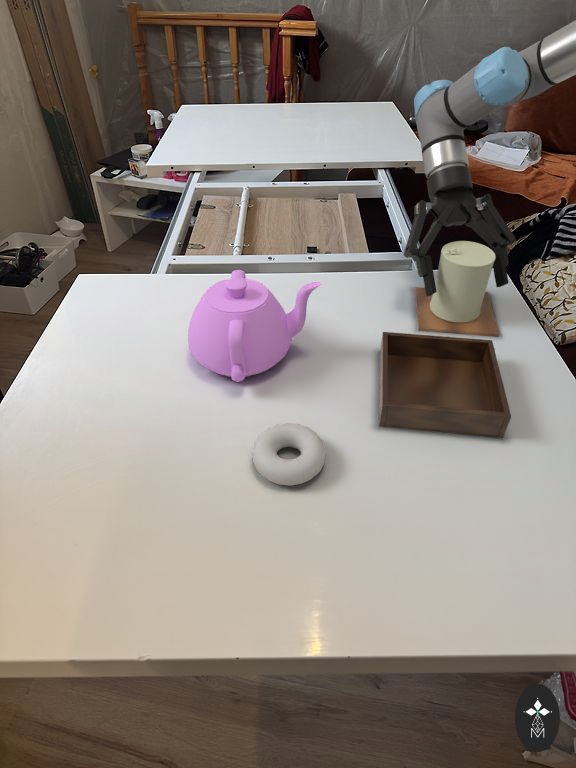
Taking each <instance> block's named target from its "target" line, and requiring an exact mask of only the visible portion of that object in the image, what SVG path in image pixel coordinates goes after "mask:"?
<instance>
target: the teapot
mask: <svg viewBox="0 0 576 768" xmlns="http://www.w3.org/2000/svg"><path fill="white" fill-rule="evenodd" d="M246 277H247V276H246V272H245V271H244V270H242V269H234V270H233V271H231V274H230V278H227V279H226V278H225V279H223V280H220V281H218V282H215V283H213V284H212V285H210V286H208V288H207V289H206V290H205V292H204V293H203V295H201V297H200V299H199V301H198V302H197V304H196V306H195V308H194V310H193V312H192V314H191V317H190V320H189V324H188V330H187V344H188V349H189V352H190V354H191V356H192V357H193V358H194V360H195V361H196V362H197V363H198V364H200V365H201V366H202V367H204V368H206V369H207V370H209V371H210V372H214V373H216V374H218V375H221V376H225V377H230V378H231V381H234V382H236V383H239V382H242V381H244V380H245V379H246V377H250V376H255V375H259V374H262V373H264V372H266V371H268V370H269V369H271V368H273V367H274V366H276V365H277V364H278V363H279V362H280V361H282V359H284V358H285V356H286V355H287V353H288V351H289V349H290V347H291V344H292V339H293V338H295V337H296V336H297V335H298V334H299V333H301V331H302V329H303V328H304V326H305V323H306V318H307V307H308V301H309V297H310V295H311V294H312V293H313V291H315V290H316V289H318V287H320V286H321V285H322V281H313V282H309V283H307V284H305V285H302V286H301V287H300V288H299V289H298V291H297V293H296V297H295V303H294V307H293V309H292V310H290V311H289V312H288V313H286V311H285V309H284V308H283V306H282V305H281V302H279V300H278V299H277V298H276V296H275V295H274V294H273V293H272V291H271V290H270V289H269V288H268V287H267V286H266V285H264V284H263V283H262V282H260V281H258V280H256V279H255V280H254V279H251V278H246Z"/></svg>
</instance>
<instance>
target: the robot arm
mask: <svg viewBox="0 0 576 768" xmlns="http://www.w3.org/2000/svg"><path fill="white" fill-rule="evenodd" d="M574 76H576V19H575V20H573V21H572V22H570V23H568V24H567V25H565V26H563V27H560V28H559V29H557V30H556V31H554V32H552V33H551V34H549V35H547V36H546V37H544V38H543V39H540V40H539V41H536V42H535V43H533V44H531V45H530V46H528V47H526V48H524V49H523V50H520V51H517V50H516V49H512V48H511V47H510V46H504V47H500V48H499V49H497V50H496V51H494V52H492V53H491V54H490V55H487V56H485V57H484V58H482V60H481V61H480V62H478V63H477V64H476V65H475V66H473V67H472V68H471V69H470V70H469V71H467V72H466V73H465V74H463V75H462V76H461V77H459V78H458V79H457V80H455V81H454V82H453V81H452V80H450V79H449V80H448V79H438V80H433V81H432V82H431V83H429V84H425V85H424V86H422V87H421V88H420V89H419V90H418V91H417V92H416V94H415V96H414V100H413V106H414V116H415V117H414V121H415V124H416V129H417V133H418V138H419V142H420V147H421V155H422V162H423V169H424V175H425V177H426V178H427V179H426V187H427V192H428V198H429V201H430V202H427V201H425V200H424V199H421V200H420V201H418V202H417V203H416V205H414V207H413V215H414V218H413V221H412V225H411V227H410V228H411V229H410V232H409V235H408V238H407V241H406V244H405V249H404V252H403V256H404V257H405V258H408V259H409V258H411V259H412V261H413V262H415V263H416V270H417V275H418V277H419V278H423V284H424V288H425V291H426V296H431V295H433V294H434V293H436V292H437V290H436V284H435V282H436V278H435V274H434V267H433V260H432V255H426V254H427V253H428V251H429V249H430V248H431V246H432V244H433V242H434V241H435V239H436V238H437V235H438V234H439V232H440V231H441V229H442V227H443V226H444V227H445V228H448V227H449V228H450V227H453V226H457V227H459V226H462V225H465V226H466V227H468V228H471V229H472V231H473V232H475V233H476V235H478V236H479V237H480V238H481V239H482V240H483V241H484V242H486V244H488V246H490V247H491V248H492V251H493V252H494V253H495V256H496V258H495V261H494V264H493V267H492V270H493V276H494V280H495V286H496V288H502V287H504V286H505V285H508V284H509V277H508V271H507V266H509V262H510V261H509V255H508V251H507V250H508V249H507V248H508V247H509V246H510V245H512V244H513V243H515V242H516V240H517V239H516V236H515V235H514V233H513V232H512V230H511V229H510V228H509V226H508V225H507V223H506V222H505V220H504V218H503V217H502V216H501V214H500V213H499V211H498V209H497V208H496V207H495V205H494V202H493V199H492V195H491V194H490V193H486V194H485V195H483V196H480V197H475V196H474V194H473V188H474V187H473V181H472V174H471V170H470V168H469V166H470V162H469V155H468V151H467V147H466V141H465V140H466V139H465V134H464V131H465V130H466V129H468V128H470V127H471V126H473V125H474V124H476V123H477V122H479V121H480V120H482V119H483V118H485V117H487V116H488V115H490V114H492V113H494V112H496V111H499V110H500V109H504V108H506V107H508V106H511V105H514V104H516V103H518V102H521V101H523V100H527V99H528V100H530V99H532V98H534V97H537V96H539V95H541V94H543V93H544V92H545V91H547V90H548V89H550V88H552V87H554V86H556V85H557V84H559V83H561V82H564V81H565V80H567V79H570V78H571V77H574ZM475 208H477V210H476V209H475ZM478 211H480V213H479V212H478ZM429 212H430V213H431V214H432V215H433V216H434V218H435V219H434V220H433V222H432V224H431V225H430V228H429V229H428V232H427V233H426V235H425V236H424V238H423V239H422V241H421V243H420V244H419V241H420V238H421V233H422V230H423V227H424V225H425V222H426V221H425V220H426V216H427V214H429ZM482 217H483V218H482ZM418 244H419V246H418ZM417 247H418V248H417Z"/></svg>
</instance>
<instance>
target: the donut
mask: <svg viewBox="0 0 576 768" xmlns="http://www.w3.org/2000/svg"><path fill="white" fill-rule="evenodd" d="M284 448H294V449H296V450H298V451H299V452H300V455H299V456H298V457H296V458H295V457H294V458H291V459H288V458H287V459H286V458H283V457H280V456H279V455H278V451H280V450H282V449H284ZM326 454H327V451H326V446H325V443H324V441H323V439H322V438H321V437H320V436H319V434H318V433H317V432H316V431H314V430H313V429H311V427H308V426H305V425H303V424H300V423H294V422H284V423H278V424H275V425H272V426H270V427H268V428H266V429H264V431H263V432H261V433H260V434H259V436H257V438H256V439H255V441H254V443H253V447H252V451H251V456H252V462H253V466H254V467H255V469H256V470H257V472H258V473H259V474H260V475H261V476H262V477H263V478H265V479H266V480H268V482H272V483H274V484H277V485H280V486H295V485H303V484H304V483H306V482H309V481H310V480H312V479H314V477H315V476H317V475H318V474H319V473H320V472H321V470H322V468H323V466H324V465H325V462H326V456H327V455H326Z"/></svg>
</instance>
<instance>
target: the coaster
mask: <svg viewBox="0 0 576 768" xmlns="http://www.w3.org/2000/svg"><path fill="white" fill-rule="evenodd" d="M414 293H415V294H414V296H415V308H416V309H415V310H416V319H417V331H418V332H430V333H443V334H458V335H470V336H483V337H493V338H494V337H495V338H499V336H500V332H499V328H498V324H497V320H496V317H495V314H494V309H493V306H492V303H491V299H490V298H491V297H490V295H489V292H488V291H485V294H484V298H483V301H482V305H481V309H480V315H479V317H478V318H476V319H475V320H473V321H470V322H466V323H455V322H449V321H446V320H443V319H441V318H439V317H437V316H436V315H435V314H434V313H433V312H432V311H431V309H430V302H431V300H432V296H433V295H431V296H426V291H425V287H421V286H415V287H414Z"/></svg>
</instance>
